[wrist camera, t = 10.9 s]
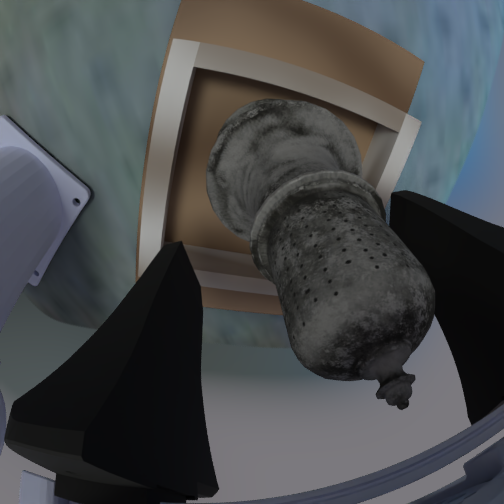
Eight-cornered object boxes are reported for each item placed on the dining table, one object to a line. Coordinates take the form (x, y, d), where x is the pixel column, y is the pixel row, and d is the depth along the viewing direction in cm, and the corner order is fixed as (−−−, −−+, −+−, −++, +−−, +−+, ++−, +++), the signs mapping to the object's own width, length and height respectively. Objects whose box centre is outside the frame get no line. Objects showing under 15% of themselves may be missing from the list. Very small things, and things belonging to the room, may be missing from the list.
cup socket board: (307, 307, 21) (318, 339, 19) (138, 286, 18) (129, 320, 16) (413, 60, 11) (448, 65, 9) (192, -19, 8) (186, -40, 6)
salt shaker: (187, 121, 12) (81, 383, 2) (310, 76, 11) (588, 176, 1) (236, 224, 15) (275, 479, 5) (342, 185, 14) (491, 388, 5)
